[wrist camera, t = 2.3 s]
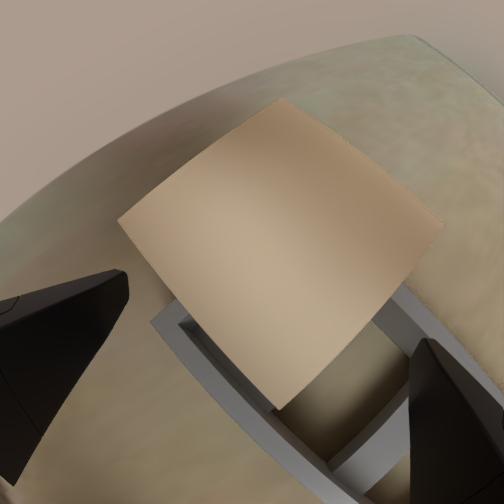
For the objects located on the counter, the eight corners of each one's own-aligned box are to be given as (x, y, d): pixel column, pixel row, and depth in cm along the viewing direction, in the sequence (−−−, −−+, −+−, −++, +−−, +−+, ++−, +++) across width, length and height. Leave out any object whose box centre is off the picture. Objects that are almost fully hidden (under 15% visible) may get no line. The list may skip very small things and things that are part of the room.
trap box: (437, 562, 10) (461, 586, 6) (177, 332, 18) (149, 321, 14) (523, 464, 12) (558, 472, 8) (295, 226, 20) (300, 189, 16)
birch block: (276, 381, 15) (279, 410, 5) (211, 312, 17) (116, 220, 6) (344, 314, 16) (444, 224, 6) (279, 251, 18) (281, 97, 7)
